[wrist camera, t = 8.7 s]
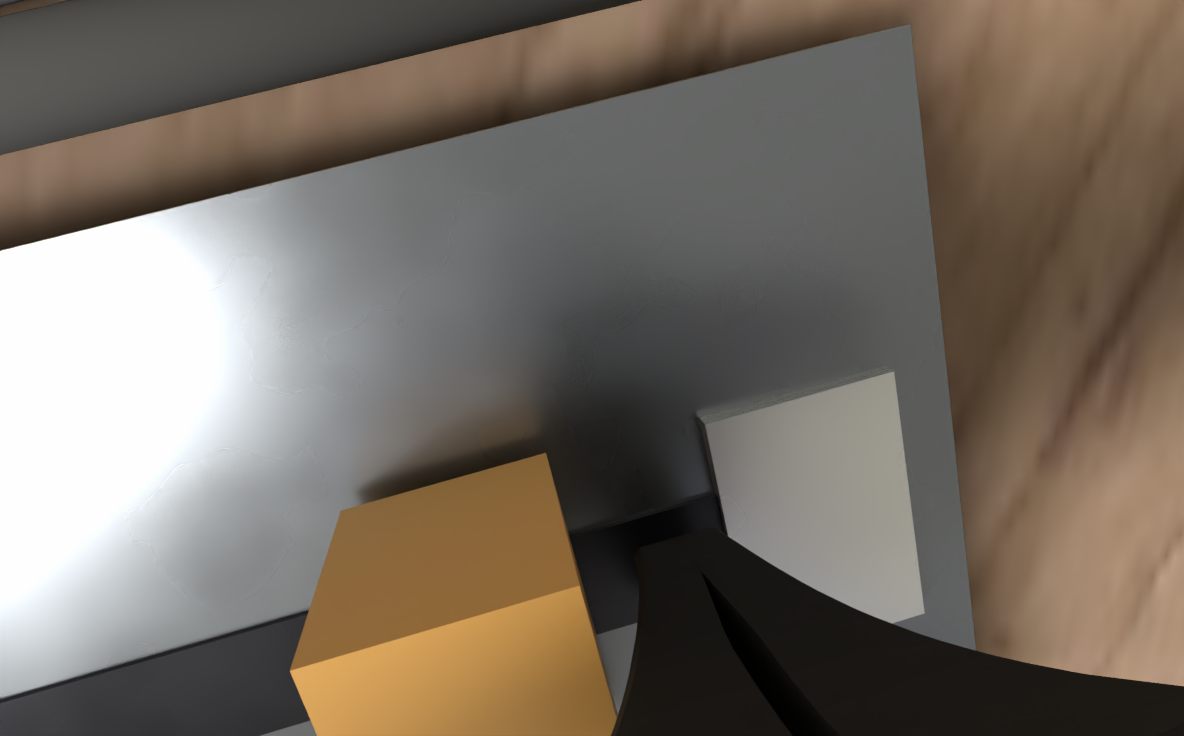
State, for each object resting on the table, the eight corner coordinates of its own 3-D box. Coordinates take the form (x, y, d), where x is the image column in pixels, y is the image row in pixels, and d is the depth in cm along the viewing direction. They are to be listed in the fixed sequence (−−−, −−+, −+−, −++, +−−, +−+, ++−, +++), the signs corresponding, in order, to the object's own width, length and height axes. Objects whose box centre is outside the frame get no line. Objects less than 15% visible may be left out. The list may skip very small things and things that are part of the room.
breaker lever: (546, 452, 12) (579, 584, 8) (621, 726, 13) (677, 932, 10) (340, 510, 12) (288, 671, 8) (442, 782, 13) (434, 1012, 10)
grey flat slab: (846, 38, 13) (921, 21, 11) (934, 726, 17) (1001, 811, 15) (-470, 367, 12) (-684, 422, 10) (-20, 1029, 16) (-96, 1172, 14)
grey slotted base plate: (675, -236, 12) (706, -291, 10) (863, 852, 18) (899, 918, 17) (-512, 24, 11) (-675, 8, 9) (140, 1089, 17) (109, 1184, 16)
